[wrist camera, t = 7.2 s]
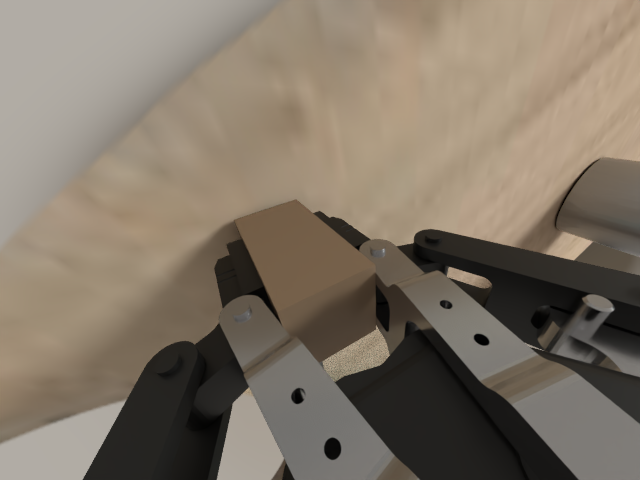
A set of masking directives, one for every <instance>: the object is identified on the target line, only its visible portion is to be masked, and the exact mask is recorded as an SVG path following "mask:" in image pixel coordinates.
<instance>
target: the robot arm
mask: <svg viewBox="0 0 640 480" xmlns="http://www.w3.org/2000/svg"><path fill="white" fill-rule="evenodd" d="M313 214H314V215H316V216H317V217H318V218H319V219H320V220H322V221H323V222H324V223H325V224H326V225H328V226H329V227H330V228H331V229H333V230H334V231H335V232H336V233H337V234H339V235H340V236H341V237H342V238H344V239H345V240H346V241H347V242H348V243H350V244H351V245H352V246H353V247H354V248H356V249H357V250H358V251H359V252H361V253H362V254H363V255H364V256H365V257H367V258H368V259H369V260H370V261H371V262H373V263H374V264H375V265H376V272H375V284H376V325H377V327H378V329H379V330H380V332H381V333H382V335H383V337H384V338H385V341H386V343H387V346H388V350H389V353H390V356H389V357H388V358H387V359H386V361H385V362H384V363H383V364H382V365H380V366H377V367H374V368H371V369H367V370H364V371H361V372H357V373H354V374H351V375H348V376H344V377H343V378H341V379H339V380H338V381H336V382H334V381H333V380H332V379H331V377H330V376H329V375H328V374H327V372H326V371H325V370H324V369H323V368H322V366H321V365H320V364H319V363H318V361H317V360H316V359H315V358H314V357H313V355H312V354H311V353H310V352H309V350H308V349H307V348H306V347H305V345H304V344H303V343H302V342H301V341H300V340H299V339H298V338H297V337H296V336H293V337H291V336H290V335H289V334H288V332H287V331H286V330H285V329H284V327H283V326H282V325H281V324H280V322H279V321H278V320H277V319H276V317H275V314H274V312H273V309H272V306H271V303H270V301H269V298H268V295H267V292H266V290H265V287H264V285H263V283H262V280H261V278H260V276H259V274H258V272H257V270H256V267H255V265H254V263H253V261H252V259H251V257H250V255H249V252H248V250H247V248H246V246H245V244H244V242H243V239H240V240H237V241H234V242H231V243H228V244H226V245H227V248H228V251H229V254H230V255H229V256H226V257H223V258H221V259H218V261H217V263H216V265H215V268H214V269H215V274H216V278H217V283H218V288H219V292H220V297H221V302H222V307H223V310H222V311H221V313H220V316H219V324H218V325H217V326H216V328H215V329H214V330H213V331H212V332H211V333H209V334H208V335H207V336H206V337H204V338H203V339H202V340H200V341H199V342H198V343H196V344H195V345H194V344H193V343H191V342H188V341H181V342H176V343H174V344H171V345H169V346H167V347H165V348H164V349H162V350H161V351H159V352H158V353H157V354H156V355H155V356H154V357H153V358H152V359H151V360H150V361H149V362H148V364H147V365H146V367H145V368H144V370H143V372H142V373H141V375H140V377H139V379H138V381H137V383H136V384H135V386H134V388H133V390H132V392H131V393H130V395H129V397H128V399H127V401H126V402H125V404H124V406H123V408H122V410H121V412H120V413H119V415H118V417H117V419H116V421H115V422H114V424H113V426H112V428H111V430H110V432H109V433H108V435H107V437H106V439H105V441H104V442H103V444H102V446H101V448H100V449H99V451H98V453H97V455H96V457H95V458H94V460H93V462H92V464H91V466H90V468H89V469H88V471H87V473H86V475H85V477H84V479H83V480H217V475H218V470H219V466H220V461H221V457H222V452H223V447H224V442H225V438H226V433H227V428H228V423H229V419H230V415H231V409H232V403H233V402H234V401H235V400H236V399H237V398H238V397H239V396H240V395H241V394H242V393H243V392H244V391H245V390H246V389H247V388H248V387H250V389H251V391H252V394H253V396H254V398H255V399H256V401H257V404H258V406H259V408H260V410H261V412H262V414H263V416H264V418H265V420H266V422H267V424H268V426H269V428H270V430H271V432H272V434H273V436H274V438H275V441H276V442H277V445H278V447H279V449H280V451H281V453H282V454H283V457H284V459H285V461H286V465H285V469H284V474H283V479H282V480H640V276H639V275H635V274H630V273H626V272H622V271H617V270H613V269H608V268H604V267H600V266H595V265H591V264H586V263H582V262H578V261H573V260H569V259H564V258H560V257H555V256H551V255H546V254H542V253H538V252H533V251H529V250H524V249H520V248H515V247H511V246H507V245H502V244H498V243H493V242H489V241H484V240H480V239H475V238H471V237H467V236H462V235H458V234H453V233H449V232H444V231H440V230H433V229H428V230H422V231H420V232H418V233H416V234H415V236H414V243H413V244H407V245H402V246H395V245H394V244H393V243H391V242H389V241H387V240H382V239H374V240H370V239H369V238H368V237H366V236H365V235H363V234H362V233H360V232H359V231H358V230H356V229H354V228H353V227H352V226H351V225H348V223H346V222H345V221H344V220H342V219H339V218H336V217H331V218H329V217H327V216H326V215H325V214H324V213H322V212H321V211H318V212H315V213H313ZM556 227H557V229H558V230H560V231H563V232H566V233H569V234H572V235H575V236H578V237H581V238H584V239H587V240H590V241H593V242H596V243H599V244H602V245H605V246H608V247H611V248H614V249H617V250H620V251H623V252H626V253H629V254H632V255H635V256H638V257H640V162H639V161H631V160H623V159H615V158H608V157H605V158H602V159H600V160H598V161H597V162H596V163H594V164H593V165H592V166H591V167H590V168H589V169H588V170H587V171H586V172H585V173H584V174H583V175H582V177H581V178H580V179H579V181H578V182H577V183H576V184H575V186H574V187H573V189H572V190H571V192H570V193H569V195H568V197H567V198H566V200H565V202H564V204H563V206H562V208H561V210H560V212H559V215H558V218H557V222H556ZM449 267H452V268H456V269H459V270H462V271H466V272H469V273H472V274H476V275H479V276H482V277H485V278H486V279H488V280H489V281H490V282H491V284H492V286H491V287H489V288H485V289H484V288H478V287H475V286H472V285H469V284H466V283H463V282H460V281H457V280H454V279H451V278H448V277H447V272H448V268H449ZM525 343H527V344H530V345H532V346H535V347H537V348H539V349H542V350H544V351H542V350H538V349H535V348H531V347H529V346H527V345H526V344H525Z"/></svg>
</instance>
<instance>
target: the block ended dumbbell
mask: <svg viewBox="0 0 640 480" xmlns="http://www.w3.org/2000/svg"><path fill="white" fill-rule="evenodd" d="M234 221H235V224H236V226H237V229H238V232H239V234H240V237H241V239H243V242H244V244H245V246H246V248H247V250H248V252H249V255H250V257H251V259H252V261H253V263H254V265H255V267H256V270H257V272H258V274H259V276H260V278H261V280H262V283H263V285H264V287H265V290H266V292H267V295H268V298H269V301H270V303H271V306H272V309H273V312H274V314H275V317H276V319H277V320H278V321H279V322H280V324H281V325H282V326H283V327H284V329H285V330H286V331H287V332H288V334H289V335H290V336H291V337H293V336H296V337H297V338H298V339H299V340H300V341H301V342H302V343H303V344H304V345H305V347H306V348H307V349H308V350H309V352H310V353H311V354H312V355H313V357H314V358H315V359H316V360H317V361H318V363H319V364H320V365H321V366H322V368H323V369H324V367H323V363H322V361H323V360H325V359H327V358H328V357H330V356H332V355H333V354H335V353H337V352H338V351H340V350H342V349H344V348H345V347H347V346H349V345H350V344H352V343H354V342H355V341H357V340H359V339H361V338H362V337H364V336H366V335H367V334H369V333H371V332H372V331H374V330H376V284H375V272H376V265H375V264H374V263H373V262H371V261H370V260H369V259H368V258H367V257H365V256H364V255H363V254H362V253H361V252H359V251H358V250H357V249H356V248H354V247H353V246H352V245H351V244H350V243H348V242H347V241H346V240H345V239H344V238H342V237H341V236H340V235H339V234H337V233H336V232H335V231H334V230H333V229H331V228H330V227H329V226H328V225H326V224H325V223H324V222H323V221H322V220H320V219H319V218H318V217H317V216H316V215H314V214H313V213H312V212H311V211H309V210H308V209H307V208H306V207H305V206H303V205H302V204H301V203H300V202H299V201H297V200H293V201H290V202H287V203H284V204H281V205H278V206H275V207H272V208H269V209H266V210H263V211H260V212H257V213H254V214H251V215H248V216H245V217H242V218H239V219H236V220H234Z"/></svg>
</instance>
